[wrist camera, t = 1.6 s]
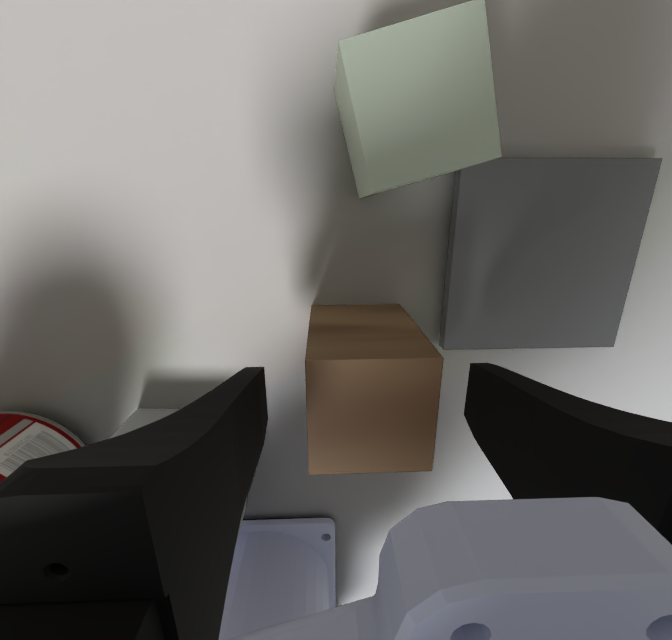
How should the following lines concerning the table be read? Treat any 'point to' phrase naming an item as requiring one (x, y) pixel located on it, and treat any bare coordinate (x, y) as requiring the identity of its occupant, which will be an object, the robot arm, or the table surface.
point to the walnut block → (370, 391)
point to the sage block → (418, 98)
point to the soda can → (30, 439)
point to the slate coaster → (543, 251)
